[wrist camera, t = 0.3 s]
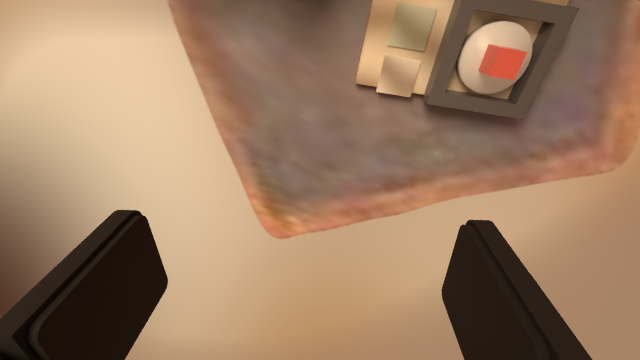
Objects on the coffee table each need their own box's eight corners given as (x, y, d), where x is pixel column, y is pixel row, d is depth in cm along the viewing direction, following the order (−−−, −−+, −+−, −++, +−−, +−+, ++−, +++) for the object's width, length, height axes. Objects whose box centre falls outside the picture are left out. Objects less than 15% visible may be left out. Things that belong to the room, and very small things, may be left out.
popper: (471, 15, 31) (487, 17, 28) (537, 26, 31) (562, 30, 28) (446, 84, 34) (458, 94, 31) (506, 95, 35) (525, 105, 31)
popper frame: (458, -12, 30) (465, -12, 28) (565, 7, 31) (579, 8, 29) (422, 98, 36) (426, 103, 34) (513, 113, 36) (522, 119, 34)
